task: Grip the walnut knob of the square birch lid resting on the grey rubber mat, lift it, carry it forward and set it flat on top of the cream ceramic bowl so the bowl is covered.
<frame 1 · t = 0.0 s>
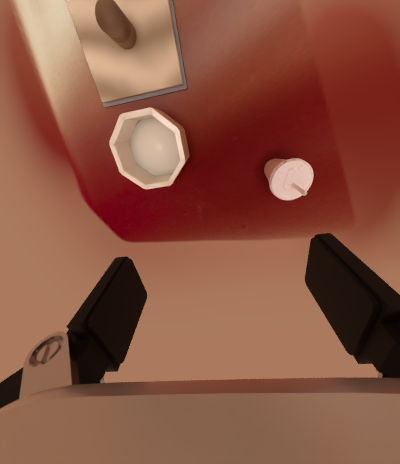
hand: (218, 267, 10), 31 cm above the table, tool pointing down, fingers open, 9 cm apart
bowl: (158, 148, 36), on the table
lid: (128, 38, 28), resting on mat
mat: (129, 39, 28), on the table
smoothie: (273, 168, 37), on the table
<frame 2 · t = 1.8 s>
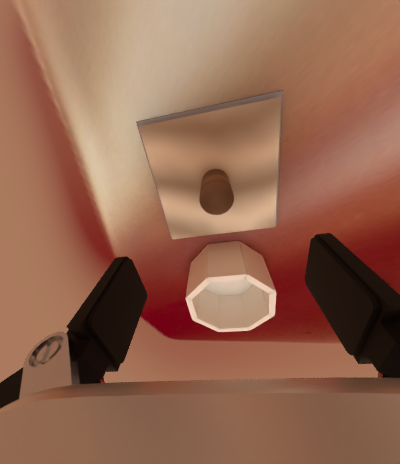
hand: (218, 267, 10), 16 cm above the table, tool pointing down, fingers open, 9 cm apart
bowl: (227, 270, 31), on the table
lid: (215, 180, 22), resting on mat
mat: (215, 179, 23), on the table
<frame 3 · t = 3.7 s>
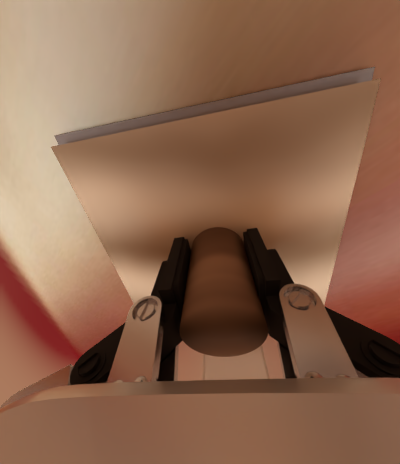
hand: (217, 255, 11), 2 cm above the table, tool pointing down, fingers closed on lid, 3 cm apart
bowl: (234, 353, 20), on the table
lid: (216, 239, 12), resting on mat, touching gripper
mat: (216, 235, 13), on the table
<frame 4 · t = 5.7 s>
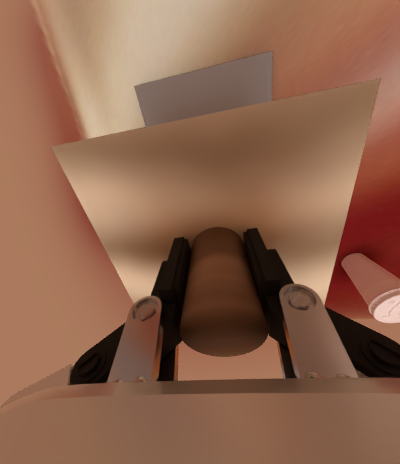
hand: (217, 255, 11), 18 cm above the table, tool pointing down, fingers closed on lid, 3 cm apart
lid: (216, 239, 12), point 16 cm above the table, touching gripper
mat: (210, 145, 24), on the table
smoothie: (352, 260, 33), on the table
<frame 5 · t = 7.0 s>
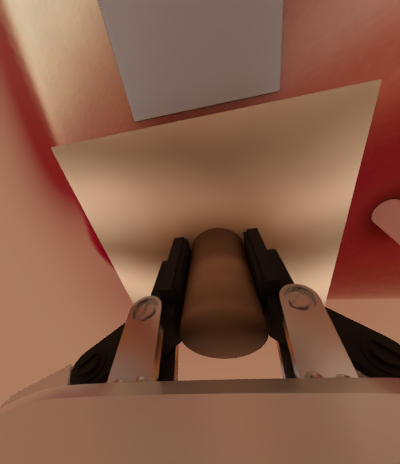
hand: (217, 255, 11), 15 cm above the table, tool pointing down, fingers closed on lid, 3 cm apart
lid: (217, 240, 12), point 13 cm above the table, touching gripper
mat: (189, 0, 15), on the table
smoothie: (386, 211, 24), on the table
when the fingers open (11 cm above the table, at t = 7.8 s): lid drops 2 cm, resting on bowl.
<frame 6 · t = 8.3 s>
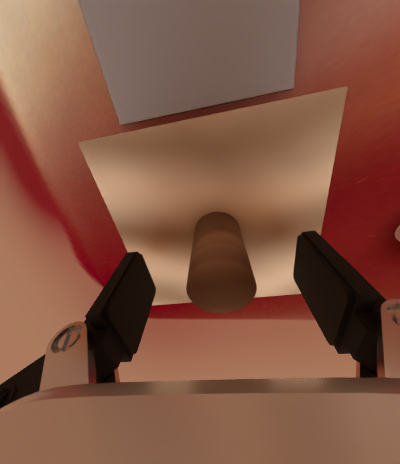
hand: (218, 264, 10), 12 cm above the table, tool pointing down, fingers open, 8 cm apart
lid: (216, 224, 14), point 7 cm above the table, touching bowl
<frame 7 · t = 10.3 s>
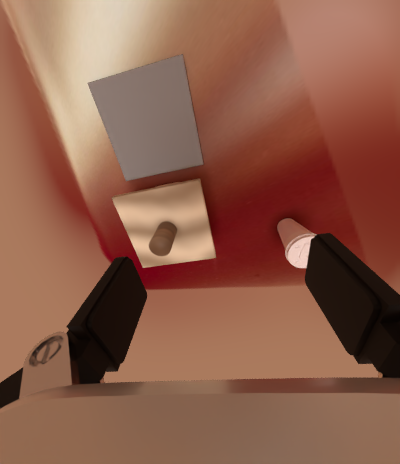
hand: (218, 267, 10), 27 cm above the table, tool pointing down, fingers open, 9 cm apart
lid: (168, 226, 32), point 7 cm above the table, touching bowl
mat: (150, 127, 31), on the table
smoothie: (285, 225, 38), on the table
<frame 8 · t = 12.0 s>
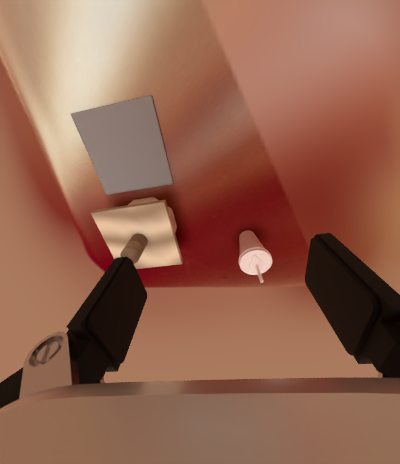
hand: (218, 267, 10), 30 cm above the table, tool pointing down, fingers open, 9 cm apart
lid: (141, 237, 37), point 7 cm above the table, touching bowl
mat: (126, 151, 35), on the table
smoothie: (246, 236, 44), on the table
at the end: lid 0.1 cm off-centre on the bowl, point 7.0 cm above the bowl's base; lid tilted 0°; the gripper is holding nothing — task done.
